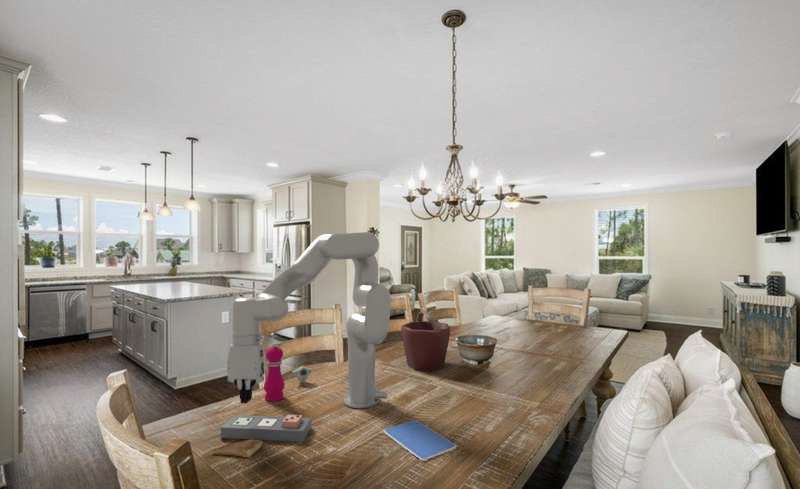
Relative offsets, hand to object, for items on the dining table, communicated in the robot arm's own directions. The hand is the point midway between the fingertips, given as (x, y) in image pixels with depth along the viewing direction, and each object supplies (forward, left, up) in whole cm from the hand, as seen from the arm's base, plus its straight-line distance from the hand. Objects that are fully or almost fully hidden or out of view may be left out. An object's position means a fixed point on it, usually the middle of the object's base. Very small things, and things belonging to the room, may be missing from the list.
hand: (245, 401), depth 111 cm
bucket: (-52, -68, -9) cm, 86 cm away
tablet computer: (-51, 0, -10) cm, 52 cm away
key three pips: (-14, 0, -6) cm, 15 cm away
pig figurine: (-3, -41, -9) cm, 42 cm away
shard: (-4, +11, -10) cm, 15 cm away
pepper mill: (+2, -25, -9) cm, 27 cm away
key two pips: (+1, 0, -8) cm, 8 cm away
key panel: (-7, 0, -9) cm, 11 cm away
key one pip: (-7, 0, -8) cm, 10 cm away
